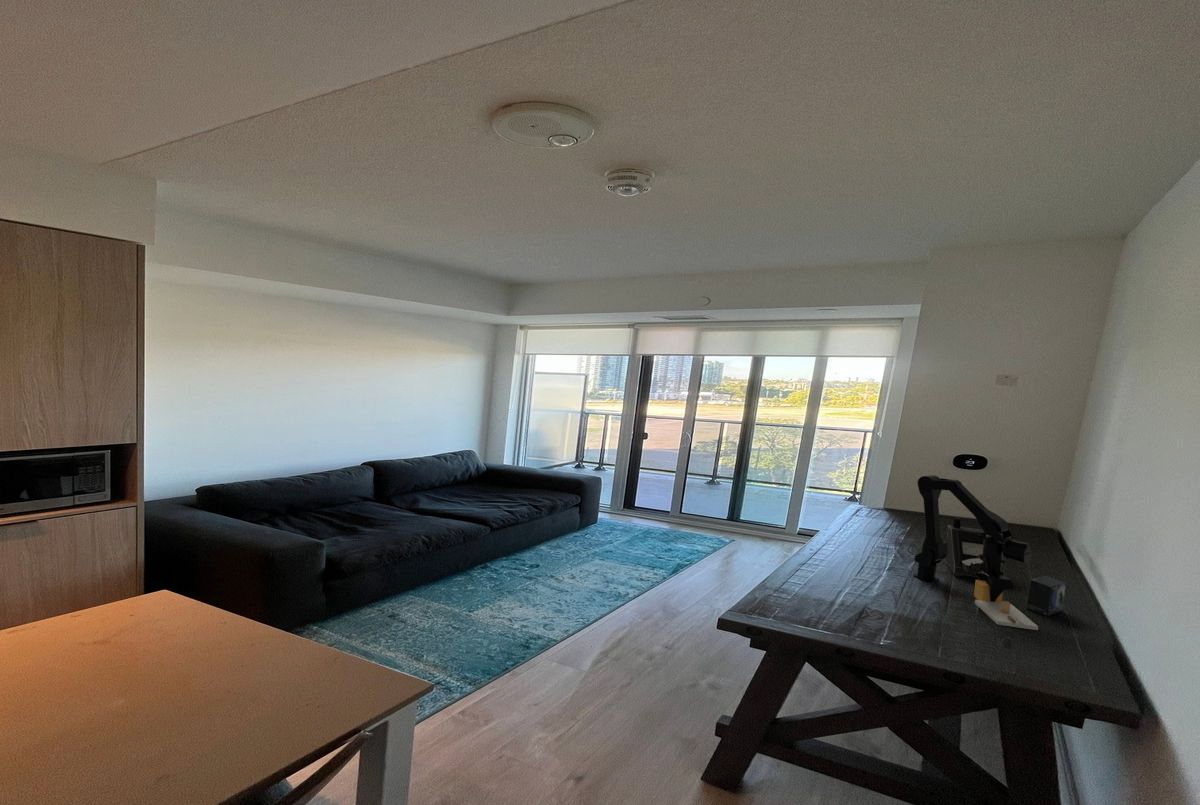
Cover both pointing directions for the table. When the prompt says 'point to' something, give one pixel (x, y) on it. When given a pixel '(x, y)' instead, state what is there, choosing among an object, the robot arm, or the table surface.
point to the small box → (1046, 595)
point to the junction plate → (1006, 614)
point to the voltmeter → (963, 547)
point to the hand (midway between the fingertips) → (987, 597)
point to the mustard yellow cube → (984, 592)
